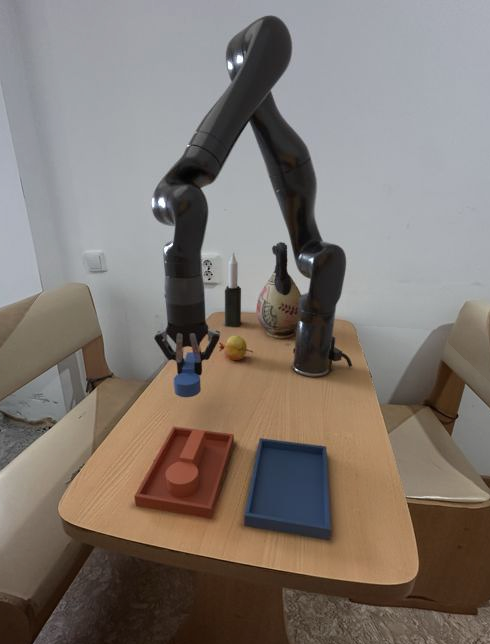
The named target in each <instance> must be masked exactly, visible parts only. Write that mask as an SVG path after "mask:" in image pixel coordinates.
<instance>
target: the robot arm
mask: <svg viewBox="0 0 490 644" xmlns="http://www.w3.org/2000/svg"><path fill="white" fill-rule="evenodd" d="M292 40H293V39H292V36H291V33H290V30H289V28H288V26H287V25H286V23H285V22H284V20H282V19H281V18H280V17H278V16H276V15H271V14H270V15H263V16H262V17H259V18H257V19H255V20H254V21H253V22H251V23H250V24H248V26H246V27H245V28H243V29H242V30H240V31H239V32H238V33H236V34H235V35H234V36H233V37H232V38H231V39H230V40H229V42H228V44H227V46H226V50H225V64H226V70H227V74H228V77H229V79H230V81H231V82H230V83H229V85H228V86H227V88H226V89H225V90H224V92H223V94H222V95H221V96H220V97H219V98H218V99H217V101H216V102H215V103H214V104H213V106H211V108H210V109H209V110H208V111H207V113H206V114H205V116H204V117H203V118H202V120H201V121H200V123H199V124H198V126H197V127H196V129H195V130H194V133H193V135H192V137H191V138H190V140H189V142H188V144H187V145H186V147H185V150H184V151H183V154H182V155H181V157H180V158H179V159H178V160H177V161H176V162H175V163H174V164H173V165H172V166H171V167H170V168H169V170H168V171H167V172H166V173H165V175H164V176H163V177H162V178H161V180H160V181H159V183H158V184H157V185H156V187H155V189H154V191H153V194H152V196H151V197H152V198H151V205H150V206H151V211H152V215H153V216H154V218H155V219H156V221H157V222H158V223H160V224H162V225H164V226H169V227H174V232H173V239H172V240H171V241H168V242H166V243H165V244H164V245H163V248H162V249H163V250H162V258H163V260H162V261H163V270H164V271H163V272H164V293H163V295H164V299H165V309H166V322H167V324H166V327H165V329H163V330H159V331H156V333H155V335H154V337H153V338H154V341H155V342H156V344H157V345H158V347H159V348H160V350H161V351H162V353H163V355H164V356H165V358H166V359H167V360H168V361H174V362H176V371H177V375H178V374H180V373H182V368H183V365H184V362H185V357H184V351H185V350H184V349H185V348H186V347H188V348H191V351H192V352H193V353H194V358H195V362H194V366H195V373H196V374H198V375H199V376H202V374H203V361H208V360H209V359H210V358H211V356H212V354H213V353H214V351H215V348H216V347H217V345H218V342H219V341H220V338H221V337H220V336H221V332H220V331H219V330H215V331H214V330H213V329H210V328H209V325H208V324H207V321H206V298H205V296H206V295H205V281H204V276H203V259H202V258H203V257H202V249H203V247H204V241H205V236H206V231H207V227H208V222H209V221H208V220H209V204H208V199H207V197H206V194H205V193H204V191H203V190H202V188H205V187H207V186H210V185H212V184H214V183H215V182H216V180H217V179H218V178H219V176H220V174H221V172H222V171H223V169H224V166H225V165H226V162H227V161H228V159H229V157H230V155H231V153H232V152H233V149H234V147H235V146H236V144H237V142H238V140H239V139H240V137H241V136H242V134H243V132H244V131H245V128H246V127H247V125H248V124H249V125H250V127H251V130H252V133H253V135H254V138H255V141H256V144H257V146H258V149H259V152H260V155H261V157H262V159H263V162H264V165H265V169H266V172H267V175H268V178H269V181H270V183H271V187H272V190H273V193H274V195H275V198H276V200H277V203H278V206H279V209H280V212H281V215H282V217H283V221H284V223H285V225H286V226H285V227H286V229H287V233H288V236H289V240H290V245H291V249H292V254H293V258H294V262H295V265H296V269H297V270H298V271H299V273H300V274H301V275H302V276H304V277H305V278H307V279H309V286H308V290H307V291H308V292H305V293H303V294H302V293H301V296H300V297H299V303H298V316H297V329H296V330H295V341H294V348H293V350H292V351H293V352H292V354H293V364H292V369H293V370H294V372H296V373H297V374H299V375H302V376H304V377H310V378H311V377H312V378H316V377H317V378H318V377H323V376H325V375H327V374H328V373H329V372H330V371H331V372H332V369H333V368H332V367H333V362H339V361H342V358H343V359H345V361H346V363H347V366H348V367H350V368H351V367H353V362H352V360H351V359H350V357H349V356H348V355H347V354H346V353H343V350H341V349H339V348H337V347H335V345H336V336H334V328H335V318H336V313H337V312H336V311H337V305H338V302H339V301H340V300H341V297H342V293H343V287H344V281H345V276H346V271H347V256H346V255H347V254H346V252H345V250H344V249H343V248H342V247H341V246H340V245H338V244H335V243H331V242H327V241H324V240H323V238H322V235H321V232H320V230H319V228H318V224H317V220H316V202H317V193H318V179H317V174H316V171H315V167H314V163H313V159H312V157H311V156H312V155H311V153H310V150H309V148H308V146H307V144H306V142H305V141H304V140H303V138H302V137H301V136H300V135H299V134H298V133H297V132H296V130H295V129H294V128H293V127H292V126H291V124H289V123H288V122H287V120H286V119H285V118H284V117H283V115H282V114H281V112H280V110H279V108H278V105H277V104H276V101H275V98H274V95H273V93H272V89H274V87H275V86H276V84H277V83H278V82H279V81H280V80H281V78H282V77H283V76H284V75H285V73H286V71H287V70H288V68H289V66H290V63H291V60H292V55H293V41H292ZM206 336H207V340H208V344H207V346H206V347H205V350H204V351H202V349H201V343H202V341H203V340H204V338H205V337H206ZM168 338H170V339H171V341H172V342H173V343H174V344H175V350H174V349H173V348H172V345H171V344H170V342H169V341H168Z"/></svg>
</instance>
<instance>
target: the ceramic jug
mask: <svg viewBox="0 0 490 644" xmlns="http://www.w3.org/2000/svg"><path fill="white" fill-rule="evenodd" d="M271 251H272V254H273V255H274V256H275V266H274V271H273V272H272V273H271V276H270V277H269V279H268V280H267V281H266V283H265V284H264V286H263V288H262V290H261V291H260V294H259V295H258V296H259V297H258V299H257V302H256V309H255V310H256V311H255V312H256V313H255V314H256V318H257V322H258V323H259V324H260V325H261V326H262V328H263V330H265V333H266V334H267V335H268V336H269V337H271V338H276V339H280V340H282V339H286V338H290V337H293V336H294V335H295V334H296V329H297V316H298V303H299V297H300V296H301V295H302V293H301V291H300V290H299V287H298V286H297V284H296V282H295V281H294V280H293V277H292V276H291V275H290V274H289V272H288V245H287V244H286V242H282V241H279V242H278V243H276V245H273V246H272V247H271Z"/></svg>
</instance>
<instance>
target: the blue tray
mask: <svg viewBox="0 0 490 644" xmlns="http://www.w3.org/2000/svg"><path fill="white" fill-rule="evenodd" d="M327 453H328V452H327V446H325V445H317V444H309V443H301V442H294V441H293V442H292V441H287V440H279V439H270V438H261V437H259V440H258V445H257V451H256V455H255V460H254V465H253V470H252V474H251V480H250V485H249V491H248V496H247V500H246V504H245V510H244V515H243V516H244V517H243V520H244V522H243V525H244V526H246V527H251V528H252V527H253V528H257V529H263V530H268V531H269V530H270V531H274V532H279V533H287V534H293V535H299V536H303V537H309V538H314V539H315V538H316V539H320V540H321V539H322V540H326V541H330V539H331V531H332V522H331V506H330V489H329V472H328V455H327Z"/></svg>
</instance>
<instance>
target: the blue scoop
mask: <svg viewBox="0 0 490 644" xmlns="http://www.w3.org/2000/svg"><path fill="white" fill-rule="evenodd" d="M184 359H185V362H184V365H183V368H182V373H180V374H178V373H177V374H176V375H175V376H174V377H173V387H174V388H173V389H174V394H175V395H176V396H178V397H180V398H193V397H195V396H197V395H199V394H200V393H201V391H202V389H201V387H202V386H201V375H198V374H196V373H195V366H194V362H195V358H194V353H193V351H192V352H190V351H189V352H186V354H185V357H184Z"/></svg>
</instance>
